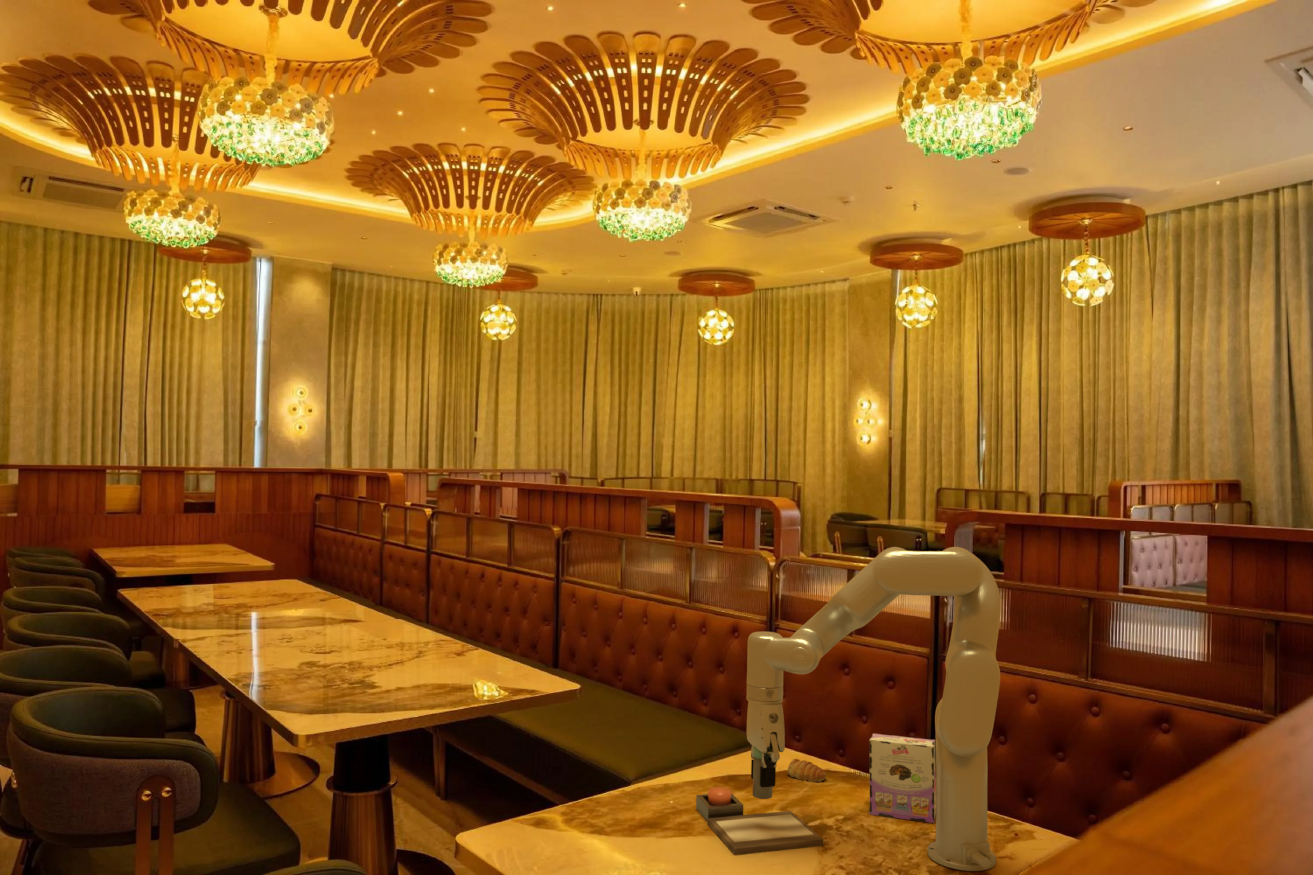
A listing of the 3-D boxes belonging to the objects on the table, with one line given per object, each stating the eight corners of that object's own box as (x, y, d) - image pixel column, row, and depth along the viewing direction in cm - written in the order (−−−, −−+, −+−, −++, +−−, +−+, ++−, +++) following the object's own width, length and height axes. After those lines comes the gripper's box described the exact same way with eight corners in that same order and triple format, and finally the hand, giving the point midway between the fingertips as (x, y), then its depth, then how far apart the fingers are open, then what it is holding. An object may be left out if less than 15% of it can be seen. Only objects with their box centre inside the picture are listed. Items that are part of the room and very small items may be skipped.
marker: (776, 798, 184) (776, 748, 184) (756, 799, 182) (757, 749, 183) (768, 791, 188) (768, 742, 188) (749, 792, 186) (750, 743, 187)
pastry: (831, 778, 220) (831, 763, 220) (817, 785, 215) (817, 769, 215) (798, 770, 226) (798, 755, 227) (784, 777, 221) (784, 761, 221)
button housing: (743, 818, 193) (743, 804, 193) (708, 822, 191) (708, 807, 191) (730, 805, 201) (730, 791, 201) (696, 808, 198) (696, 794, 199)
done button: (734, 805, 194) (734, 793, 194) (712, 807, 193) (712, 795, 193) (726, 797, 199) (726, 786, 199) (704, 798, 198) (705, 787, 198)
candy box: (936, 814, 197) (936, 738, 198) (934, 824, 191) (934, 746, 192) (872, 805, 202) (872, 731, 203) (868, 814, 196) (868, 738, 197)
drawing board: (823, 845, 179) (823, 838, 179) (734, 854, 174) (734, 847, 174) (790, 816, 195) (790, 809, 195) (707, 824, 190) (707, 817, 190)
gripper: (798, 702, 179) (796, 795, 178) (765, 682, 195) (764, 768, 194) (763, 703, 177) (761, 798, 176) (733, 684, 193) (731, 770, 192)
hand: (763, 781), depth 185 cm, fingers closed on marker, 4 cm apart
